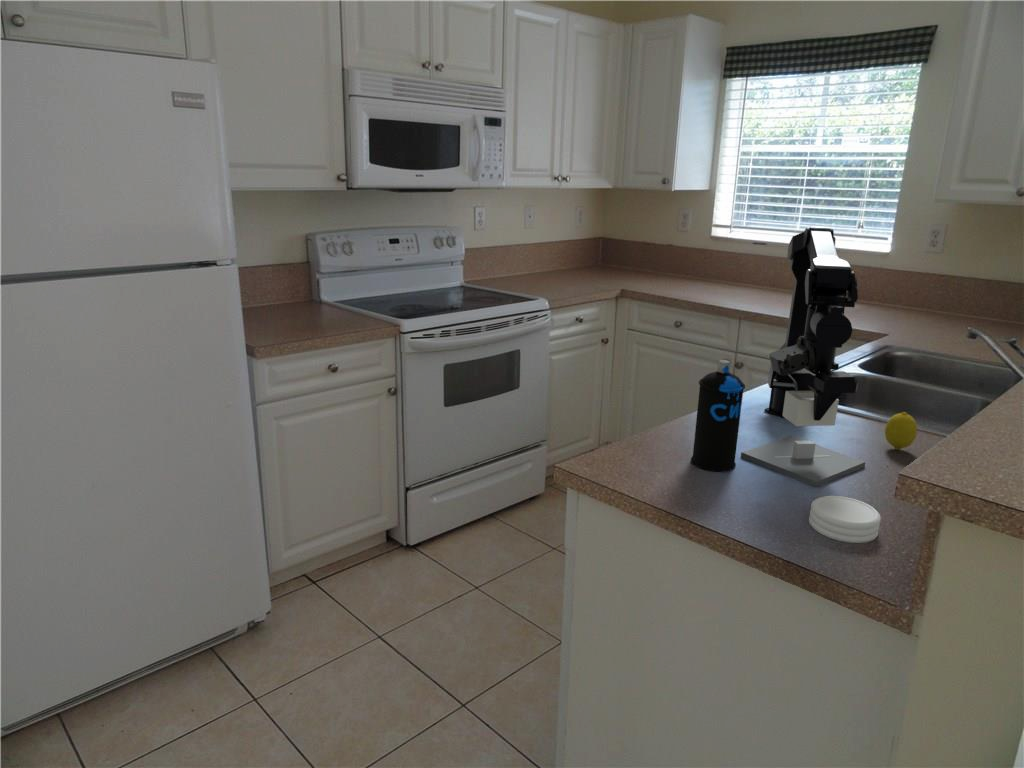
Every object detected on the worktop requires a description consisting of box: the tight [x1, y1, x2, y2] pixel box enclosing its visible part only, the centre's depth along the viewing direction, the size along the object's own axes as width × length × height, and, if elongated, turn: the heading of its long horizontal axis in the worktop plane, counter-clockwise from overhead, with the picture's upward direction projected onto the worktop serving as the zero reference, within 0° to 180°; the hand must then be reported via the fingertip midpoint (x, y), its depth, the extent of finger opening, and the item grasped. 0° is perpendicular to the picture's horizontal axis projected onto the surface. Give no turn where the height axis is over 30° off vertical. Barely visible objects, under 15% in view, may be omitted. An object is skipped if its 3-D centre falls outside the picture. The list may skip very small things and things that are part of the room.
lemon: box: [884, 411, 918, 451], centre depth 145 cm, size 6×6×8 cm
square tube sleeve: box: [782, 391, 840, 427], centre depth 136 cm, size 6×8×5 cm
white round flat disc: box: [808, 495, 882, 544], centre depth 114 cm, size 10×10×4 cm
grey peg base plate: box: [740, 435, 866, 488], centre depth 139 cm, size 16×16×4 cm
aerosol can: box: [690, 359, 746, 473], centre depth 135 cm, size 8×8×20 cm
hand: (809, 414), depth 136 cm, fingers closed on square tube sleeve, 5 cm apart
